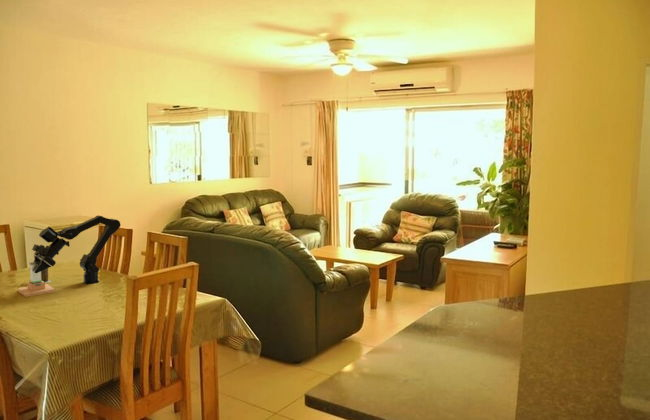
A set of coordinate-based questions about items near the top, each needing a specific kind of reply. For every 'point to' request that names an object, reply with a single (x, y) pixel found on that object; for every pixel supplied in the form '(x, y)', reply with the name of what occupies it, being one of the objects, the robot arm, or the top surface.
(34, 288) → the stand
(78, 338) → the top surface
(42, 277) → the condiment
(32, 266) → the column
